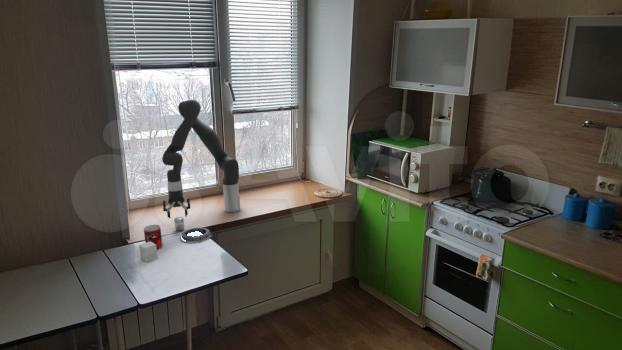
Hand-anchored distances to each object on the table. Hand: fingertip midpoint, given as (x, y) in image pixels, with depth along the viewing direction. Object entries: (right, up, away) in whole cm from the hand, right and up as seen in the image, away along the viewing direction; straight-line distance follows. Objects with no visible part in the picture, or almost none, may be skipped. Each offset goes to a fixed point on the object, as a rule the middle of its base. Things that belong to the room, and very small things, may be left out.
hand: (177, 217), depth 256 cm
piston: (+1, -8, +2) cm, 8 cm away
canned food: (-6, -14, -20) cm, 25 cm away
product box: (-4, -17, -33) cm, 37 cm away
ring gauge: (+12, -10, -8) cm, 18 cm away
